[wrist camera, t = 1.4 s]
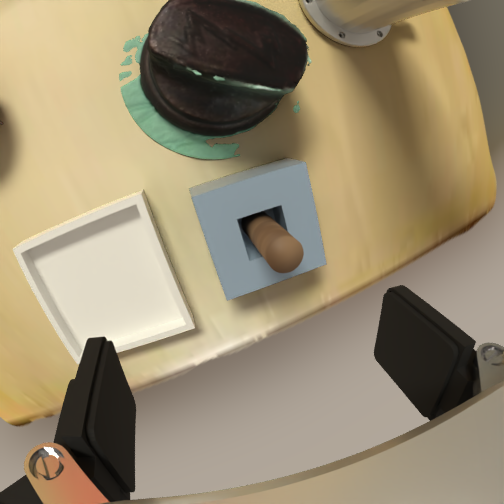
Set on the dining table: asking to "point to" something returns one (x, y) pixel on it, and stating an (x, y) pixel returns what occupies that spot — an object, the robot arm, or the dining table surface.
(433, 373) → the robot arm
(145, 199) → the tray
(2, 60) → the dining table surface
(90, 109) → the dining table surface
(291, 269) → the pin
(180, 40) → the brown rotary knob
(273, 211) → the holder
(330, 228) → the dining table surface
